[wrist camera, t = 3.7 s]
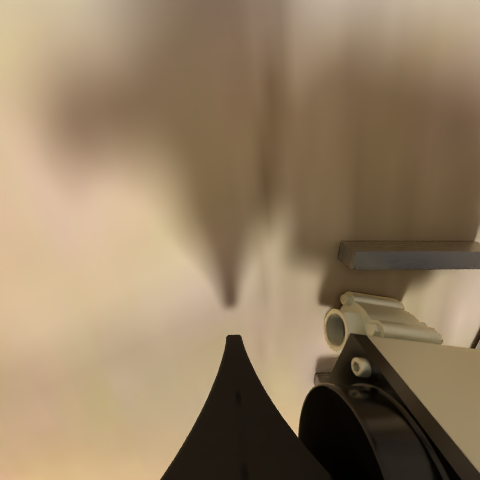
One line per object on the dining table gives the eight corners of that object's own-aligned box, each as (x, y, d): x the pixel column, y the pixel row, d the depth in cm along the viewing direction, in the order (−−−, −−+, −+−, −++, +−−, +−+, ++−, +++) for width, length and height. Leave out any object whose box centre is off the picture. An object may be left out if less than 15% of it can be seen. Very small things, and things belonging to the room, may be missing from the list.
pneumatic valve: (282, 267, 12) (845, 1282, 1) (455, 296, 14) (1364, 832, 3) (258, 343, 14) (397, 1040, 3) (414, 361, 16) (880, 848, 5)
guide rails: (474, 241, 13) (505, 251, 11) (418, 379, 16) (436, 399, 15) (341, 241, 12) (356, 251, 11) (313, 383, 16) (322, 405, 15)
